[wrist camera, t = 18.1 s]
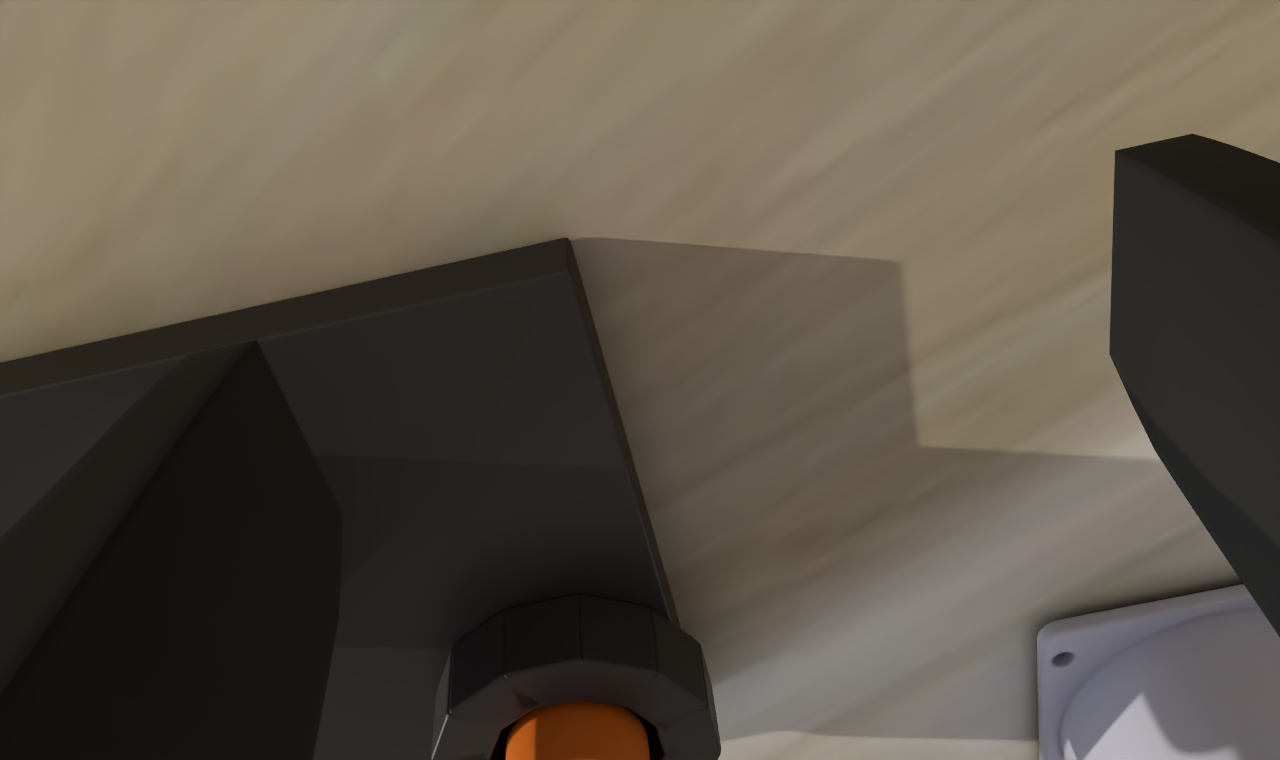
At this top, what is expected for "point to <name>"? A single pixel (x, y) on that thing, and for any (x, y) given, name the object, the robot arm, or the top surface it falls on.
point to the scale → (434, 500)
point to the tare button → (578, 734)
